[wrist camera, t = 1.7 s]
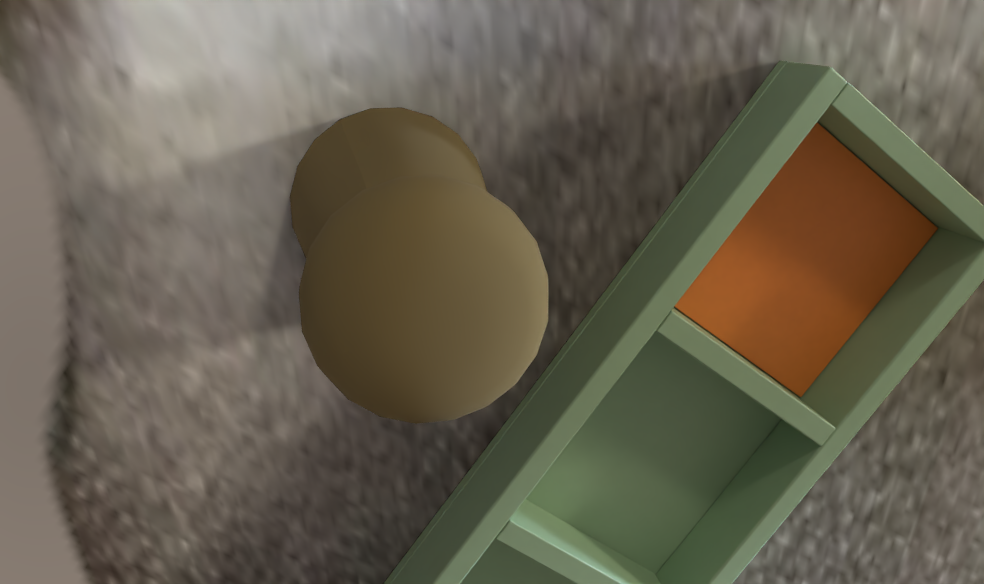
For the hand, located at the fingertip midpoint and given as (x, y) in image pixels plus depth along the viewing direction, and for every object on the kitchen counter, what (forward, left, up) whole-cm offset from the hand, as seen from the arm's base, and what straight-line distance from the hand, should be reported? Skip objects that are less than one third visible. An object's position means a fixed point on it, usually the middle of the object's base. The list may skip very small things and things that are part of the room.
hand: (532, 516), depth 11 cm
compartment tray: (+12, -2, -18) cm, 21 cm away
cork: (0, 0, -18) cm, 18 cm away
